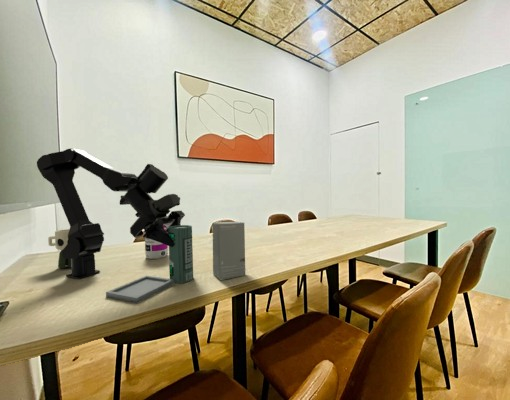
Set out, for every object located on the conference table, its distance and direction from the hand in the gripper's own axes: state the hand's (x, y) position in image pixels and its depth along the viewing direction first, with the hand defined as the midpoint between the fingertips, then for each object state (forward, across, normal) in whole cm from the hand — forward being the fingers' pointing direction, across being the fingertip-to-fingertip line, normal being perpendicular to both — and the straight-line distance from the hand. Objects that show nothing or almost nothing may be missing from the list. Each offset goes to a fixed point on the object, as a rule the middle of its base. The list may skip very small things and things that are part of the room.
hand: (179, 243), depth 65 cm
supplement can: (-9, +22, +24) cm, 34 cm away
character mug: (-25, +6, +41) cm, 48 cm away
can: (+8, 0, +7) cm, 11 cm away
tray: (+3, -8, +12) cm, 15 cm away
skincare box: (+16, +6, -1) cm, 17 cm away
